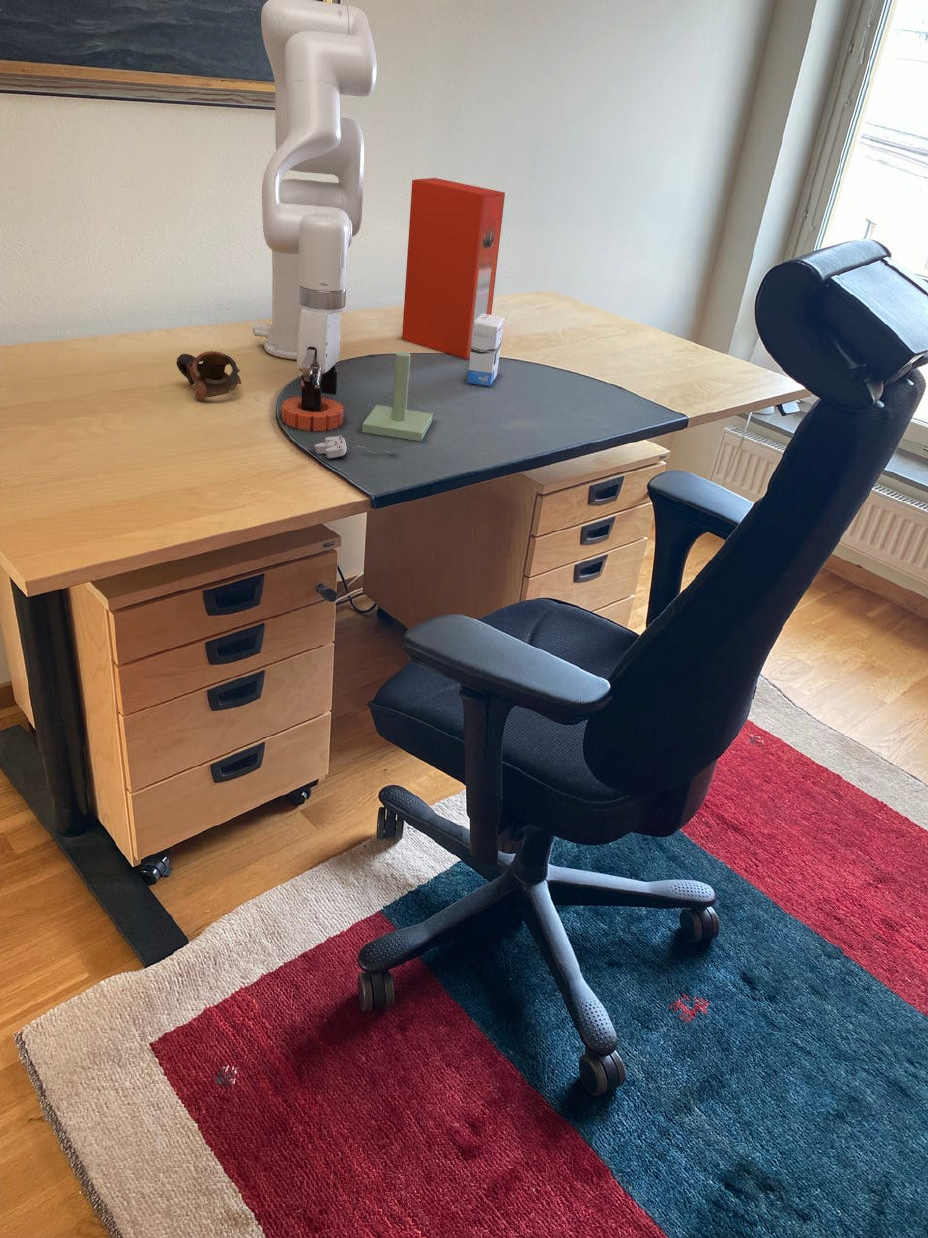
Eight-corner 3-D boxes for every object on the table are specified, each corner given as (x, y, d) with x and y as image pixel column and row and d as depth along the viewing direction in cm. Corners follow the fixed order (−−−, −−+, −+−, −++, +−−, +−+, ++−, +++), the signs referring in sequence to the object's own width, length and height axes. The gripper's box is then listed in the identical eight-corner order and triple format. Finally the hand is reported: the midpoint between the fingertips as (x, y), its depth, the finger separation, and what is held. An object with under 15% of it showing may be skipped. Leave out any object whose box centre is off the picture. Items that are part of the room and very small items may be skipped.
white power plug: (310, 447, 148) (310, 431, 146) (378, 442, 153) (379, 427, 151) (322, 461, 144) (322, 445, 142) (392, 456, 149) (393, 440, 147)
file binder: (465, 359, 197) (483, 194, 180) (400, 339, 205) (412, 179, 188) (486, 353, 203) (506, 192, 186) (423, 333, 211) (436, 177, 194)
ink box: (490, 387, 183) (498, 326, 177) (465, 383, 184) (472, 322, 177) (497, 375, 190) (505, 316, 184) (473, 371, 191) (480, 312, 185)
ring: (274, 425, 154) (274, 411, 153) (292, 406, 163) (292, 392, 162) (333, 434, 154) (334, 420, 152) (349, 414, 162) (349, 401, 161)
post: (361, 432, 156) (365, 357, 149) (375, 412, 164) (380, 341, 158) (421, 441, 155) (427, 366, 149) (432, 421, 164) (438, 349, 157)
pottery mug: (250, 390, 168) (251, 358, 161) (225, 427, 164) (225, 395, 156) (188, 363, 168) (186, 329, 161) (161, 399, 163) (158, 366, 156)
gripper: (314, 284, 159) (312, 384, 168) (282, 306, 144) (282, 414, 153) (358, 290, 158) (353, 390, 167) (330, 312, 144) (327, 420, 152)
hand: (319, 401), depth 160 cm, fingers open, 9 cm apart
